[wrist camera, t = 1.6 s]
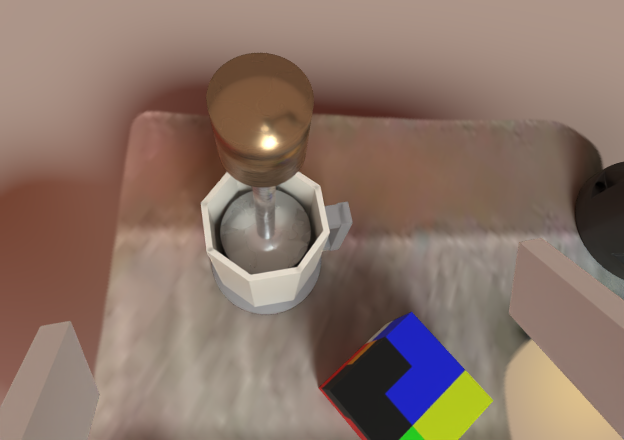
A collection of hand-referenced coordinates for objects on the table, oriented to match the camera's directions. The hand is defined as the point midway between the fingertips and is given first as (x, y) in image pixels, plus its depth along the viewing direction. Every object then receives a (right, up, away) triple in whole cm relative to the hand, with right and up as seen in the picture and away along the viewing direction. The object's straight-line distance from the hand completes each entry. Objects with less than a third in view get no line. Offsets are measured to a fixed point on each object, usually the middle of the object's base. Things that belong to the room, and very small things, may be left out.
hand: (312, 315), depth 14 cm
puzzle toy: (+8, -15, +36) cm, 40 cm away
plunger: (-4, +2, +29) cm, 29 cm away
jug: (-5, -2, +39) cm, 39 cm away
